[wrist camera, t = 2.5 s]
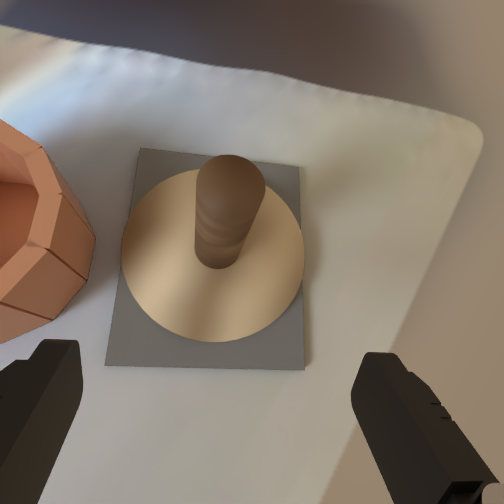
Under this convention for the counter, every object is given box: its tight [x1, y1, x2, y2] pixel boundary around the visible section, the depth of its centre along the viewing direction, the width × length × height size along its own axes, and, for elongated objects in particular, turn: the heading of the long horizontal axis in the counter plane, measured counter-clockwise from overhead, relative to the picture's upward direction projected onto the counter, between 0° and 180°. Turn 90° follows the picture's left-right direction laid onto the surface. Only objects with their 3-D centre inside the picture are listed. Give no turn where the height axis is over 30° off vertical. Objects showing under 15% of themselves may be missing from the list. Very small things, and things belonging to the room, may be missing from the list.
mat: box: [105, 148, 305, 370], centre depth 22 cm, size 12×15×1 cm
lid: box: [121, 155, 305, 342], centre depth 18 cm, size 12×12×9 cm
